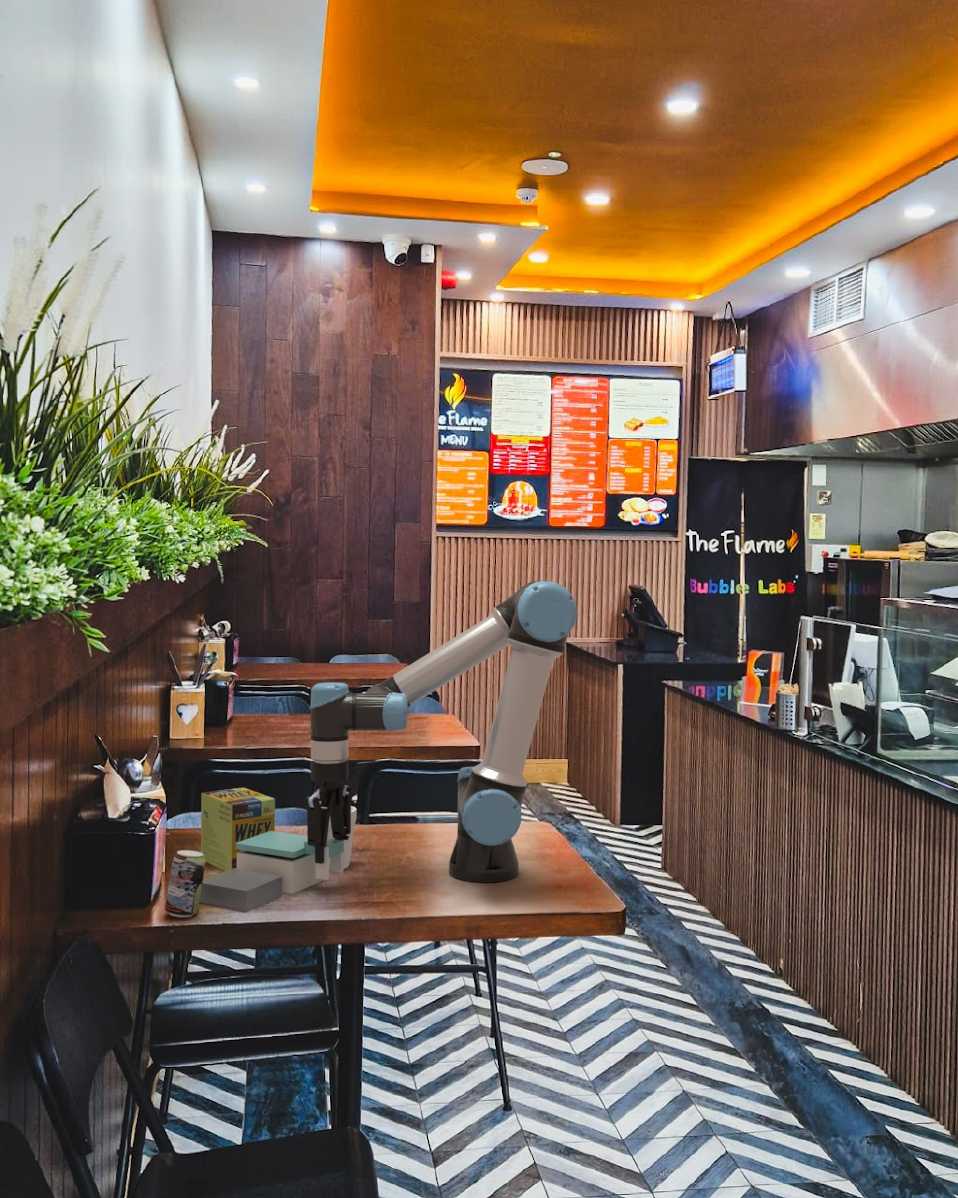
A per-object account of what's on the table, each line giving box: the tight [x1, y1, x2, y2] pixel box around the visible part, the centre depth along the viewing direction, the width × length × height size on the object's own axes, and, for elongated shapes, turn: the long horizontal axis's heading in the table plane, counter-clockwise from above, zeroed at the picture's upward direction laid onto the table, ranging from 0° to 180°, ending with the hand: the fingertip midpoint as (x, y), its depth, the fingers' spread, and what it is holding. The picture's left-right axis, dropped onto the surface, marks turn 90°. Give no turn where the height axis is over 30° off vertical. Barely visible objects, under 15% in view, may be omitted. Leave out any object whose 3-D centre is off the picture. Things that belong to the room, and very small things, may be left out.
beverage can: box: [164, 849, 207, 918], centre depth 198 cm, size 6×7×12 cm
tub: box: [237, 850, 325, 895], centre depth 218 cm, size 14×11×7 cm
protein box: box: [200, 787, 276, 872], centre depth 232 cm, size 10×15×16 cm
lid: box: [236, 831, 343, 858], centre depth 217 cm, size 21×12×3 cm, turn 64°
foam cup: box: [321, 805, 358, 871], centre depth 230 cm, size 10×9×13 cm
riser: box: [199, 868, 283, 913], centre depth 207 cm, size 12×11×4 cm
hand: (329, 875), depth 213 cm, fingers closed on lid, 4 cm apart
